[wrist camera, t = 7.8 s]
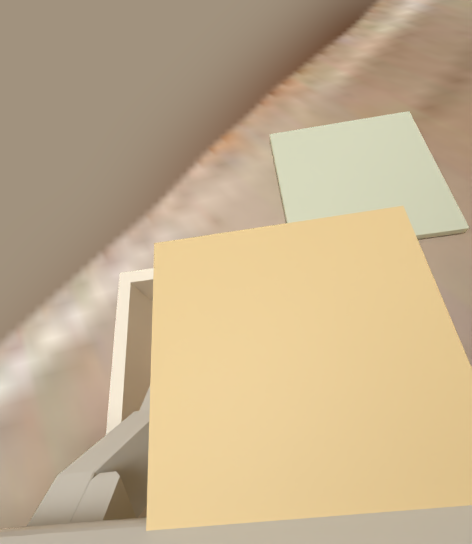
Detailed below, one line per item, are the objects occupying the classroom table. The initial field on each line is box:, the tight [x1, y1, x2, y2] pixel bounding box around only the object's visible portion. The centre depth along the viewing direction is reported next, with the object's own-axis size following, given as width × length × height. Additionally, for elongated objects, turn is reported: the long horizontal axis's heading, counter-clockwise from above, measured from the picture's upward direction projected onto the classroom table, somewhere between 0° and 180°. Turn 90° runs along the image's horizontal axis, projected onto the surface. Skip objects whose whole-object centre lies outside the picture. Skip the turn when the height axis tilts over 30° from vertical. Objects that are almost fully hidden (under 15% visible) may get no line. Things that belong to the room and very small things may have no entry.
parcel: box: [146, 206, 472, 531], centre depth 9 cm, size 5×6×10 cm
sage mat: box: [270, 111, 469, 239], centre depth 20 cm, size 10×10×1 cm
